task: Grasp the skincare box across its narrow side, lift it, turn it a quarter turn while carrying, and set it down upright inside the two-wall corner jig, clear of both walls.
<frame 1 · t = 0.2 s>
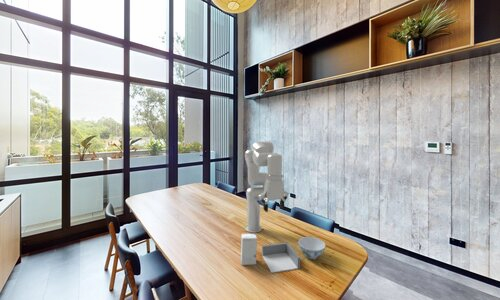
hand: (273, 209, 107), 31 cm above the table, fingers open, 9 cm apart
corner jig: (280, 261, 112), on the table
skincare box: (248, 262, 112), on the table
chinaware: (311, 256, 118), on the table
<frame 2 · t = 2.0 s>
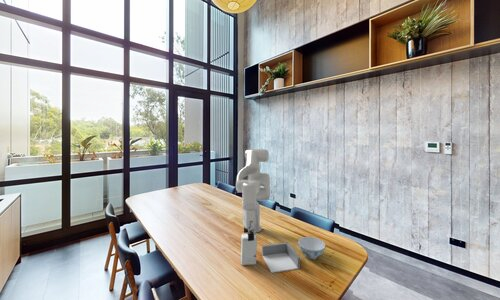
hand: (248, 236, 111), 15 cm above the table, fingers open, 9 cm apart
nothing on the table moved.
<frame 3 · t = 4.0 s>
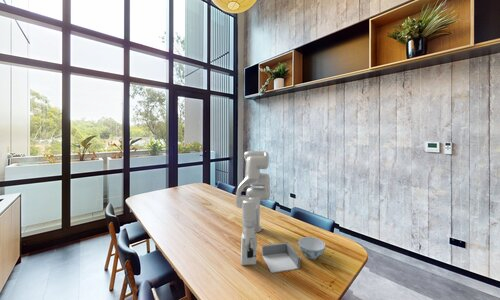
hand: (248, 253, 112), 5 cm above the table, fingers closed on skincare box, 6 cm apart
skincare box: (248, 262, 112), on the table, touching gripper
everything else where it was.
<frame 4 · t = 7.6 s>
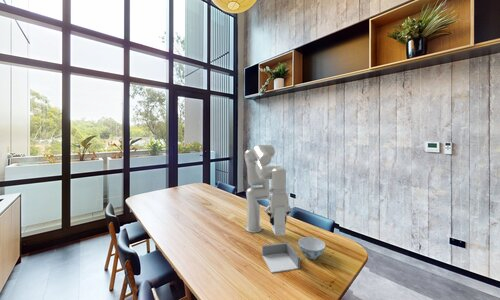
hand: (278, 223, 109), 22 cm above the table, fingers closed on skincare box, 6 cm apart
skincare box: (277, 232, 110), point 18 cm above the table, touching gripper
everything else where it was.
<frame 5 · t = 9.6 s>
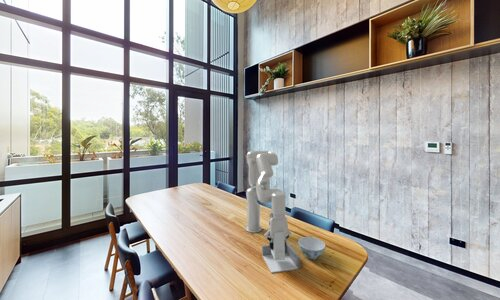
hand: (277, 247, 110), 9 cm above the table, fingers closed on skincare box, 6 cm apart
skincare box: (277, 256, 111), point 4 cm above the table, touching gripper
everything else where it was.
when the fingers open (6 cm above the table, at t = 11.2 s): skincare box drops 1 cm, resting on corner jig.
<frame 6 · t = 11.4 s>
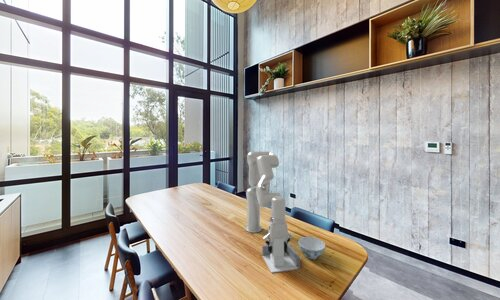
hand: (277, 250, 110), 7 cm above the table, fingers open, 8 cm apart
skincare box: (276, 262, 111), resting on corner jig
everything else where it was.
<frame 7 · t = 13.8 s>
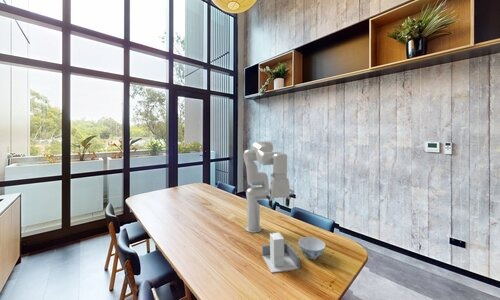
hand: (279, 206, 112), 31 cm above the table, fingers open, 9 cm apart
nothing on the table moved.
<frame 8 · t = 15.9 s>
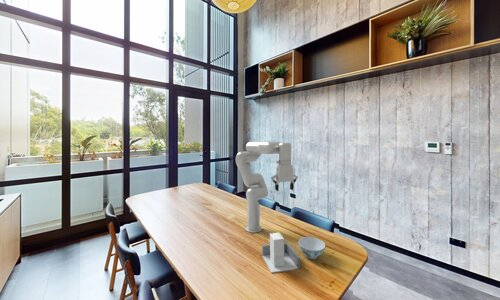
hand: (284, 190, 126), 36 cm above the table, fingers open, 9 cm apart
nothing on the table moved.
at the end: skincare box inside the target area on the corner jig (0.4 cm from its centre), point 0.4 cm above the corner jig's base; skincare box tilted 0°; the gripper is holding nothing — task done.
